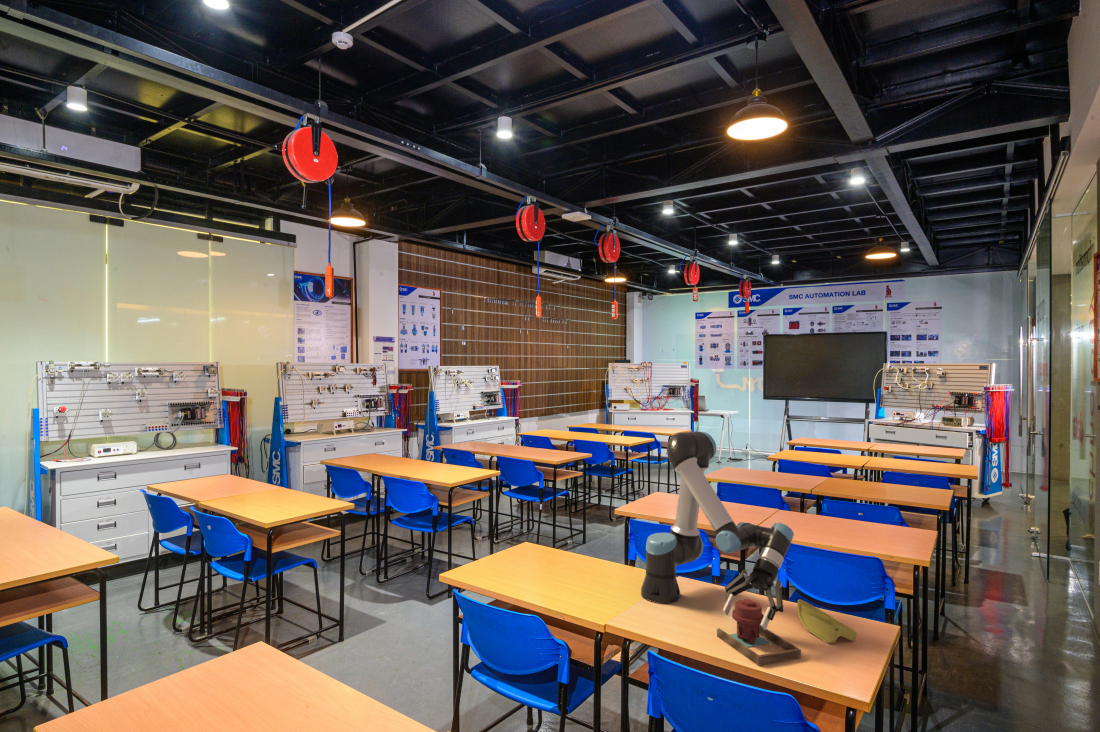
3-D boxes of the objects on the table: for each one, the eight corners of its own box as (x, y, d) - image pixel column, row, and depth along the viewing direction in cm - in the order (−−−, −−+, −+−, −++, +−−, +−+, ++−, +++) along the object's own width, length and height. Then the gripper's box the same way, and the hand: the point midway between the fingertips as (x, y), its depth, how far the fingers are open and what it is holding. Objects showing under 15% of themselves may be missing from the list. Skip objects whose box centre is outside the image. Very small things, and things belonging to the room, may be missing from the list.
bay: (716, 636, 183) (717, 628, 183) (756, 630, 189) (756, 622, 189) (758, 665, 164) (758, 657, 164) (801, 658, 170) (801, 649, 170)
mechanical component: (762, 649, 174) (729, 642, 179) (765, 636, 183) (734, 630, 188) (762, 609, 175) (729, 603, 179) (766, 599, 184) (734, 593, 188)
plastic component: (860, 634, 182) (839, 624, 179) (851, 655, 181) (830, 645, 178) (815, 606, 201) (795, 597, 198) (806, 625, 200) (787, 616, 197)
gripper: (807, 581, 182) (784, 640, 172) (739, 561, 201) (715, 613, 191) (800, 568, 179) (775, 627, 169) (731, 549, 198) (706, 601, 188)
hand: (743, 620), depth 180 cm, fingers open, 13 cm apart
